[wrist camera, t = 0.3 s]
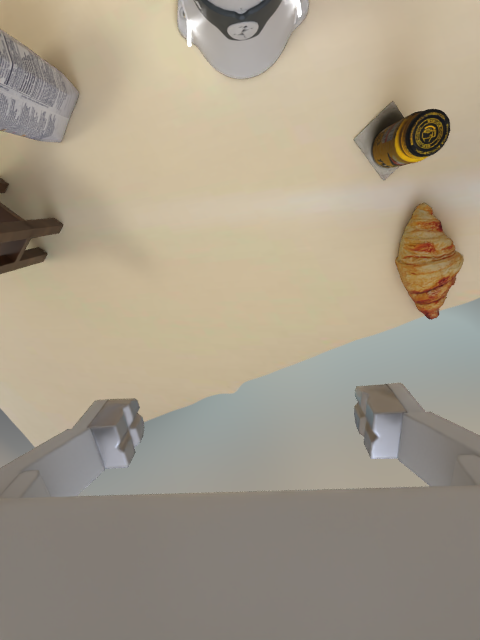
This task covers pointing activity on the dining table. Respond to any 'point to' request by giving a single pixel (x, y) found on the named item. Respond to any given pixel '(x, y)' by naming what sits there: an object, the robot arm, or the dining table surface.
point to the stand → (21, 237)
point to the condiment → (402, 138)
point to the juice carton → (32, 94)
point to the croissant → (427, 261)
